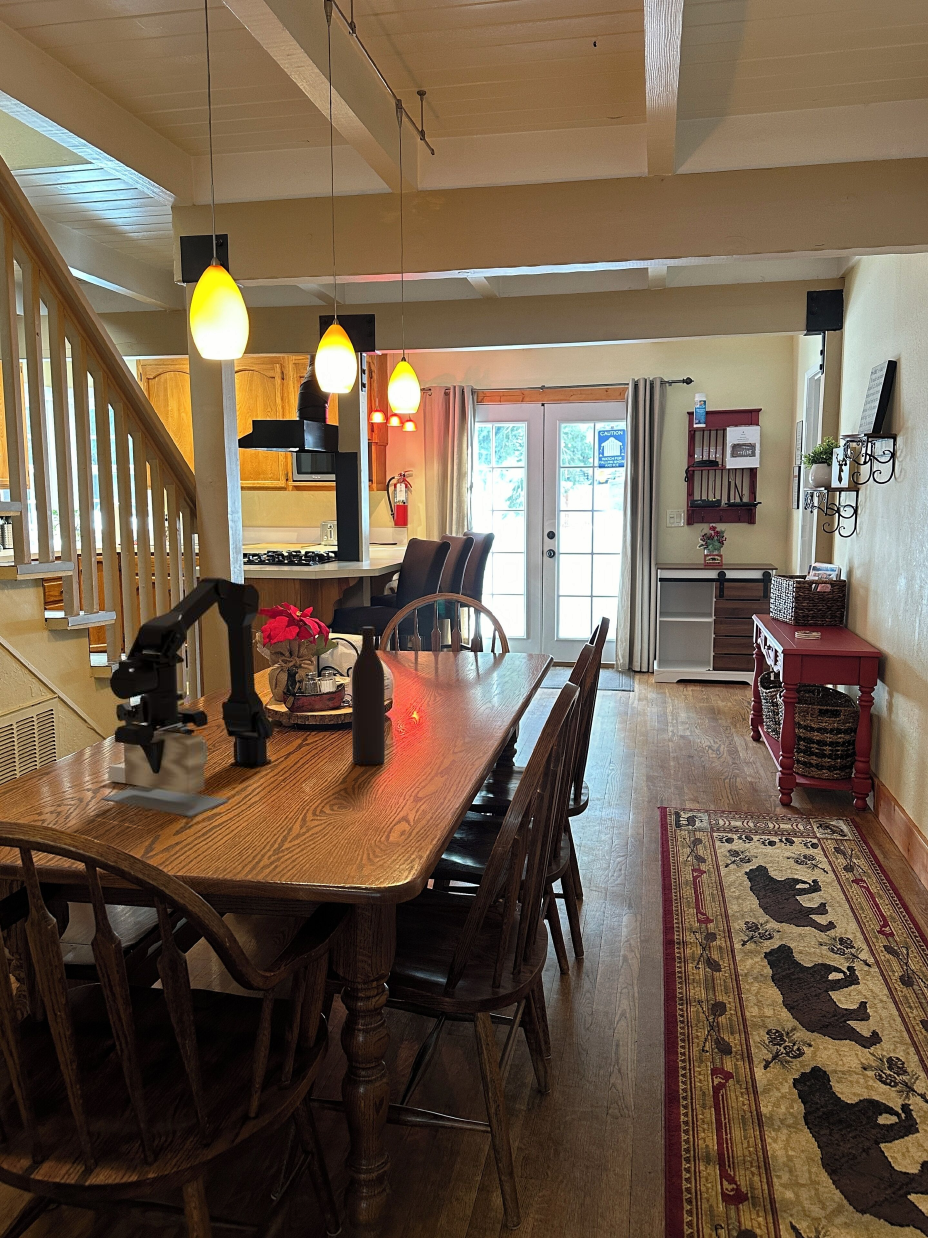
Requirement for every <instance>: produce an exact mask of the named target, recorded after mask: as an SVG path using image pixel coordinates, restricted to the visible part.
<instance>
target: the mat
mask: <svg viewBox="0 0 928 1238" xmlns="http://www.w3.org/2000/svg"><path fill="white" fill-rule="evenodd" d="M101 799H102V800H103V801H108V802H114V803H119V804H124V805H129V806H134V807H140V808H145V809H150V810H156V811H161V812H166V813H171V814H177V815H179V816H184V817H187V818H193V817H195V816H197V815H199V814H203V813H205V812H207V811H209V810H212V809H214V808H217V807H219V806H221V805H224V804H226V803H228V802H229V799H225V798H221V797H215V796H209V795H205V794H204V795H203V794H198V793H192V794H190V795H189V794H184V793H178V792H173V791H167V790H161V789H156V788H150V787H145V786H139V785H135V786H133V787H130V788H127V789H124V790H120V791H118V792H116V793H115V792H114V793H113V794H110V795H107V796H104V797H102V798H101Z"/></svg>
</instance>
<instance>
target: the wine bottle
mask: <svg viewBox="0 0 928 1238" xmlns="http://www.w3.org/2000/svg"><path fill="white" fill-rule="evenodd" d="M360 633H361V637H362V638H361V639H362V640H361V643H362V644H361V650H360V651H359V653H358V656H357V658H356V660H355V662H354V664H353V667H352V673H351V702H352V703H351V707H352V709H351V713H352V714H351V716H352V717H351V720H352V723H351V724H352V725H351V729H352V731H351V733H352V737H351V741H352V743H351V744H352V746H351V747H352V762H353V764H355V765H358V766H363V767H371V766H372V767H373V766H374V767H375V766H378V765H381V764H383V763H385V759H386V755H385V754H386V752H385V751H386V749H385V747H386V743H385V742H386V741H385V740H386V739H385V738H386V737H385V735H386V731H385V730H386V729H385V723H386V722H385V715H386V714H385V713H386V712H385V710H386V709H385V706H386V705H385V702H386V701H385V698H386V697H385V693H386V692H385V691H386V689H385V670H384V667H383V663H382V661H381V659H380V657H379V655H378V654H377V651H376V649H375V639H374V638H375V634H376V633H375V628H374V627H373V626H362V627H361V630H360Z"/></svg>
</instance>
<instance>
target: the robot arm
mask: <svg viewBox="0 0 928 1238" xmlns="http://www.w3.org/2000/svg"><path fill="white" fill-rule="evenodd" d="M259 603H260V593H259V590H258V588H256V586H255V585H253V584H251V583H237V582H235V581H234V582H233V581H231V580H228V579H225V578H223V577H211V576H209V577H208V576H207V577H204V578H201V579H200V580H199V582H198V584H197V585H196V586H195V587H194V588H193V589H192V590H191V591H190V592H189V593H188V594H186V595H185V596H184V597H183V598H182V599H181V600H180V601H179V602H178V603H177V604H176V605H174V606H173V607H172V609H171V610H169V611H168V612H166V613H164V614H160V615H158V616H155V617H153V618H151V619H149V620H148V621H146V622H144V623H143V624H142V625H141V626H140V627H139V628H138V632H137V634H136V637H135V639H134V641H133V644H132V646H131V648H130V650H129V653H128V654H127V657H126V660H119V661H118V667H117V668H116V669H115V670H114V671H113V672H112V674H111V676H110V679H109V685H110V689H111V691H112V693H113V695H115V697H117V698H118V699H120V700H129V699H133V698H136V697H139V703H137V704H131V703H130V702H129V701H126V702H123V703H120V704H116V707H115V708H116V710H115V711H116V712H115V713H116V714H115V715H116V718H117V721H119V722H124V725H119V726H117V727H116V729H115V730H114V742H115V743H120V744H124V743H125V744H131V745H139V746H140V747H141V748H142V749H143V751H144V753H145V755H146V757H147V760H148V762H149V764H150V767H151V769H152V771H153V773H155V774H158V773H159V770H160V766H161V760H162V754H163V748H164V741H165V740H164V739H159V732H161V731H166V732H173V733H180V734H187V735H192V734H195V730H196V729H192V728H190V726H189V724H193V725H194V726H195V728H201V727H204V726H208V725H209V724H208V723H209V722H208V714H207V713H206V712H205V710H203V709H195V708H182V709H179V701H180V700H183V699H184V698H183V694H184V693H178V689H179V688H178V664H182V663H184V662H185V658H183V657H182V656H181V655H179V654H178V652H179V651H180V649H181V648H182V647H183V645H184V644H185V642H186V641H187V639H188V632H189V630H190V628H191V627H192V626H193V625H194V624H196V623H197V621H199V619H201V618H202V617H203V616H204V615H205V613H207V612H208V611H209V610H210V609H211V608H212V607H213V606H214V605H215V604H217V610H218V613H219V615H220V617H221V619H222V620H223V622H224V623H225V625H226V628H227V641H228V643H227V644H228V660H229V675H230V676H229V677H230V679H229V680H230V694H229V696H228V698H227V699H226V701H222V704H221V709H222V718H221V720H222V721H223V723H224V726H225V730H226V734H227V737H230V738H231V737H233V738H234V741H233V760H234V761H232V762H230V764H229V765H230V766H232V767H233V766H234V767H240V768H247V769H256V768H259V767H261V766H264V765H267V764H270V763H271V762H272V759H271V758H268V755H267V754H268V752H267V751H268V748H267V747H268V746H267V741H268V740H267V739H271V737H273V736H274V735H273V734H274V730H275V725H273V723H272V721H271V720H270V719H269V718H268V717H267V716H266V713H265V706H264V702H263V700H262V699H261V697H260V696H259V694H258V693H257V690H256V688H255V687H256V686H255V669H254V668H255V667H254V666H255V665H254V649H253V647H254V646H253V630H252V629H253V628H252V625H253V622H254V621H255V619H256V617H257V615H258V613H259Z"/></svg>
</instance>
